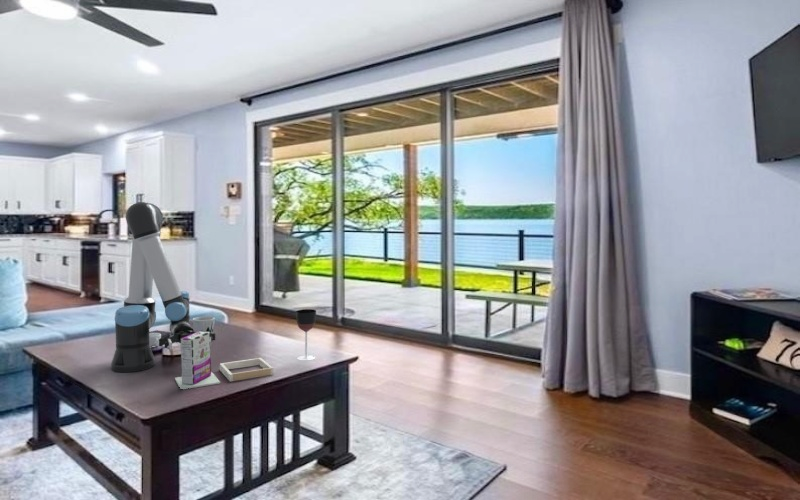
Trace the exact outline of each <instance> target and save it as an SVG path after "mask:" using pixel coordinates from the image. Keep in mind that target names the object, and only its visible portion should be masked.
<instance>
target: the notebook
mask: <svg viewBox="0 0 800 500" xmlns="http://www.w3.org/2000/svg"><path fill="white" fill-rule="evenodd" d="M149 333H160V334H161V338H162V337H164V336H165V335H166V334H168V333H169V334H171V335H173V334H172V333H171V331H166V330H165V331H164V330H159V329H158V330H157V329H156V330H152V331H149Z"/></svg>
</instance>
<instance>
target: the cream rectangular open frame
mask: <svg viewBox="0 0 800 500" xmlns="http://www.w3.org/2000/svg"><path fill="white" fill-rule="evenodd" d="M255 366H260V367H261V368H260V369H254V370H253V369H252V370H247V371H240V372H239V371H238V372H234V373H233V372H232V371H230V370H233V369H240V368H248V367H255ZM219 371H220V372H221V373H222V374H223V376H224V377H225V378H226V379H227V380H228V381H229V382H234V381H235V382H236V381H241V380H248V379H254V378H260V377H266V376H274V374H275V373H274V367H273V366H272V365H270V364H269V363H268V362H267V361H266V360H264V359H263V358H262V357H258V358H250V359H249V358H248V359H243V360H235V361H228V362H221V363H219Z"/></svg>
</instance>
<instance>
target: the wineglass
mask: <svg viewBox="0 0 800 500" xmlns="http://www.w3.org/2000/svg"><path fill="white" fill-rule="evenodd" d="M295 315H296V323H297V326H298V328H299V329H300V330H301V331H302V332H304V334H305V335H304V336H305V337H304V339H305V341H304V342H305V347H304V350H305V354H304V355H301V356H298V357H297V358H296V359H297V360H299V361H312V360H314V359H316V356H314V355H308V332H309V331H310V330H312V329H313V328H314V327H315V325H316V319H317V310H316V309H311V308H310V309H309V308H308V309H307V308H306V309H304V308H303V309H298V310H296V312H295ZM313 356H314V357H313Z"/></svg>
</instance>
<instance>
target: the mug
mask: <svg viewBox="0 0 800 500" xmlns="http://www.w3.org/2000/svg"><path fill="white" fill-rule="evenodd" d="M215 321H216V317H214V316H210V315H209V316H206V315H205V316H196V317H193V318H192V319H190V323H191V324H192V328H193V330H194V331H195V332H199V331H201V330H203V331H205V332H211V333H214V330H215V329H214V328H215V323H216V322H215Z"/></svg>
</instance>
